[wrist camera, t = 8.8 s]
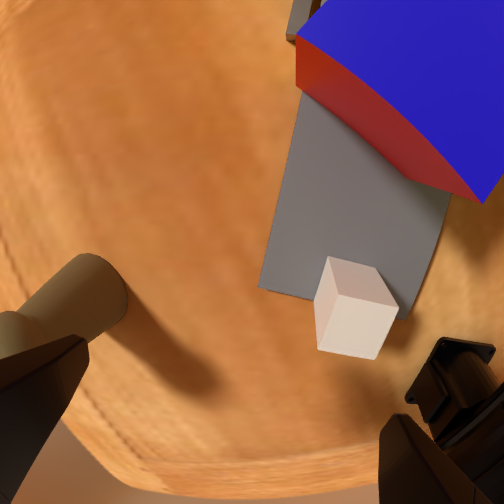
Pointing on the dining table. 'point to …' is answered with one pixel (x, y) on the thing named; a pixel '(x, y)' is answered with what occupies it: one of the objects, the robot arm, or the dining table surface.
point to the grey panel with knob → (349, 233)
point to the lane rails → (298, 17)
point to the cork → (66, 306)
